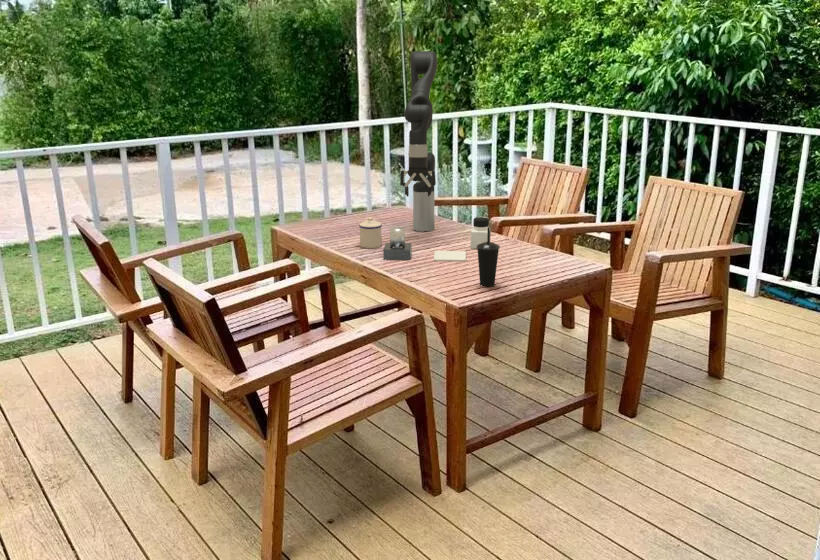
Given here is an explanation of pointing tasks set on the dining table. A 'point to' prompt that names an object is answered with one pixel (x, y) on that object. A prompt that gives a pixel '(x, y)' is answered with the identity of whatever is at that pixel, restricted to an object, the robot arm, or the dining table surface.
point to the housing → (397, 252)
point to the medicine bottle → (479, 231)
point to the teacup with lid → (370, 234)
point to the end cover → (397, 237)
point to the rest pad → (450, 256)
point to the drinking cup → (487, 261)
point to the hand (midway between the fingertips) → (418, 196)
